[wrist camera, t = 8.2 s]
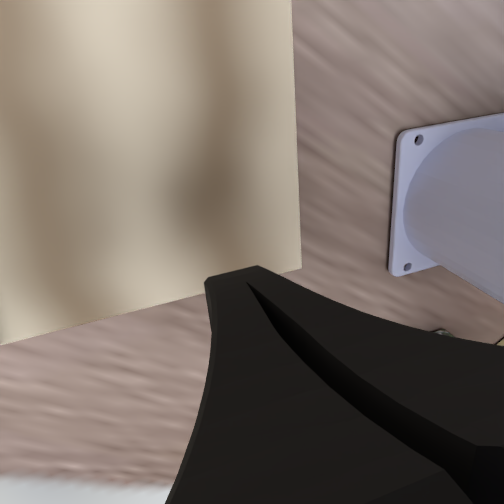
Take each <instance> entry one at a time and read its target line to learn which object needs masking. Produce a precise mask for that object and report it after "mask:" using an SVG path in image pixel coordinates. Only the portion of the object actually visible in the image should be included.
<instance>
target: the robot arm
mask: <svg viewBox="0 0 504 504" xmlns="http://www.w3.org/2000/svg"><path fill="white" fill-rule="evenodd" d="M417 135H418V140H417V142H416V143H415V142H414V140H415V138H416V136H417ZM405 264H407V265H406V266H405ZM438 265H441V266H442V267H444V268H446V269H447V270H449V271H451V272H452V273H454V274H456V275H457V276H459V277H460V278H462V279H464V280H465V281H467V282H469V283H470V284H472V285H473V286H475V287H477V288H478V289H480V290H482V291H483V292H485V293H486V294H488V295H490V296H491V297H493V298H495V299H496V300H498V301H500V302H501V303H503V304H504V113H499V114H493V115H487V116H482V117H476V118H470V119H465V120H459V121H453V122H448V123H442V124H436V125H431V126H425V127H420V128H414V129H408V130H405V131H403V132H402V133H400V135H399V136H398V139H397V145H396V161H395V176H394V191H393V206H392V221H391V236H390V252H389V267H388V269H389V272H390V274H392V275H393V276H395V277H399V276H402V275H406V274H410V273H413V272H417V271H420V270H424V269H428V268H431V267H435V266H438ZM404 266H405V267H404ZM204 288H205V294H206V300H207V306H208V312H209V319H210V325H211V331H212V338H211V350H210V359H209V366H208V372H207V377H206V383H205V388H204V392H203V396H202V400H201V404H200V408H199V412H198V416H197V419H196V423H195V426H194V429H193V432H192V435H191V438H190V441H189V444H188V446H187V449H186V452H185V455H184V458H183V460H182V463H181V466H180V469H179V472H178V474H177V477H176V479H175V482H174V484H173V486H172V489H171V491H170V493H169V495H168V498H167V500H166V502H165V504H504V346H501V345H494V344H487V343H482V342H476V341H471V340H465V339H460V338H455V337H451V336H446V335H442V334H437V333H433V332H428V331H424V330H420V329H416V328H413V327H409V326H405V325H402V324H398V323H395V322H392V321H389V320H385V319H382V318H379V317H376V316H373V315H370V314H367V313H364V312H361V311H359V310H356V309H353V308H351V307H348V306H346V305H343V304H341V303H338V302H336V301H333V300H331V299H329V298H326V297H324V296H322V295H320V294H317V293H315V292H313V291H311V290H309V289H307V288H304V287H302V286H300V285H298V284H296V283H294V282H292V281H290V280H288V279H286V278H284V277H282V276H280V275H278V274H276V273H274V272H272V271H270V270H268V269H266V268H264V267H261V266H259V265H255V266H251V267H247V268H243V269H239V270H235V271H231V272H227V273H223V274H219V275H214V276H210V277H208V278H207V279H206V280H205V282H204Z"/></svg>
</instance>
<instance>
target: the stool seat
mask: <svg viewBox="0 0 504 504" xmlns="http://www.w3.org/2000/svg"><path fill="white" fill-rule="evenodd" d="M255 265H259V266H261V267H264V268H266V269H268V270H270V271H272V272H274V273H276V274H281V273H285V272H289V271H293V270H297V269H301V268H302V260H301V235H300V210H299V185H298V160H297V135H296V109H295V84H294V59H293V34H292V9H291V0H0V345H3V344H7V343H11V342H15V341H19V340H23V339H27V338H31V337H35V336H39V335H43V334H46V333H50V332H54V331H58V330H62V329H66V328H70V327H74V326H78V325H82V324H86V323H90V322H93V321H97V320H101V319H105V318H109V317H113V316H117V315H121V314H125V313H129V312H133V311H136V310H140V309H144V308H148V307H152V306H156V305H160V304H164V303H168V302H172V301H176V300H180V299H183V298H187V297H191V296H195V295H199V294H203V293H205V288H204V282H205V280H206V279H207V278H208V277H210V276H214V275H219V274H223V273H227V272H231V271H235V270H239V269H243V268H247V267H251V266H255Z"/></svg>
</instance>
